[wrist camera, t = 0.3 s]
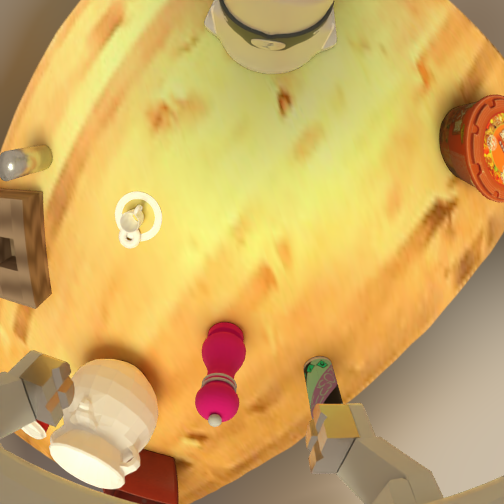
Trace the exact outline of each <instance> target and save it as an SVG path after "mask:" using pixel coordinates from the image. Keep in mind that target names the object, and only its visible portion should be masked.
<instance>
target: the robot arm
mask: <svg viewBox="0 0 504 504" xmlns="http://www.w3.org/2000/svg"><path fill="white" fill-rule="evenodd" d="M333 5H334V0H214V1H213V3H212V6H211V8H210V10H209V12H208V14H207V16H206V19H205V22H204V23H205V27H206V29H207V30H208V31H209V32H211V33H212V34H213V35H215V36H216V37H218V38H219V40H220V41H221V43H222V45H223V47H224V48H225V50H226V52H227V53H228V54H229V55H230V57H231V58H232V59H233V60H235V61H236V62H237V63H239V64H240V65H242V66H243V67H245V68H247V69H250V70H252V71H256V72H260V73H266V74H280V73H286V72H290V71H293V70H295V69H297V68H299V67H301V66H303V65H304V64H306V63H307V62H308V61H309V60H310V59H311V58H312V57H313V56H315V55H316V54H317V53H319V52H322V51H325V50H328V49H330V48H332V47H334V46H335V44H336V42H337V34H336V25H335V16H334V8H333ZM70 373H71V369H70V365H69V364H68V363H67V362H65V361H62V360H59V359H56V358H54V357H51V356H48V355H46V354H42V353H39V352H37V351H34V350H33V351H30V352H29V353H28V354H27V355H26V356H25V357H23V358H22V359H21V360H20V361H19V362H18V363H17V364H16V365H15V366H14V367H13V368H12V369H11V370H10V371H9V372H8V373H7V372H1V373H0V439H1V438H3V437H5V436H7V435H9V434H11V433H13V432H15V431H17V430H19V429H21V428H23V427H24V426H26V425H28V424H30V423H32V422H34V421H36V419H37V420H39V421H42V422H44V423H47V424H49V425H52V426H55V427H56V425H57V424H58V422H59V421H60V420H61V418H62V417H63V415H64V414H63V409H65V408H67V407H69V406H70V405H71V403H72V401H73V398H74V394H75V387H74V383H73V381H72V380H71V378H70V377H69V375H70ZM313 417H314V419H312V420H311V421H310V422H309V424H308V427H307V432H306V446H307V449H308V450H309V451H310V452H311V453H310V456H309V464H310V470H311V473H312V474H326V473H328V474H329V473H337V474H336V475H337V476H338V477H339V478H340V479H341V480H342V481H343V482H344V483H345V484H346V485H347V486H348V487H349V488H350V490H351V491H352V492H353V493H354V494H355V495H356V496H357V497H358V498H359V499H360V500H361V501H362V502H363V503H364V504H504V476H501V477H499V478H497V479H495V480H492V481H490V482H488V483H485V484H482V485H480V486H477V487H475V488H472V489H469V490H467V491H464V492H461V493H458V494H455V495H453V496H449V497H446V498H443V495H442V493H441V491H440V489H439V487H438V485H437V483H436V480H435V478H434V476H433V474H432V472H431V471H430V470H428V469H427V468H425V467H424V466H422V465H421V464H419V463H418V462H416V461H415V460H413V459H412V458H410V457H409V456H407V455H406V454H404V453H403V452H402V451H400V450H399V449H397V448H396V447H394V446H393V445H391V444H390V443H388V442H387V441H386V440H384V439H383V438H381V437H376V435H375V433H374V430H373V428H372V425H371V423H370V421H369V418H368V416H367V413H366V411H365V409H364V406H363V405H362V404H361V403H354V404H316V405H315V407H314V410H313ZM0 504H138V503H135V502H131V501H127V500H124V499H120V498H117V497H114V496H111V495H107V494H104V493H101V492H98V491H95V490H92V489H90V488H87V487H84V486H82V485H79V484H76V483H74V482H71V481H69V480H66V479H64V478H62V477H59V476H57V475H55V474H52V473H50V472H48V471H46V470H44V469H41V468H39V467H37V466H35V465H33V464H31V463H29V462H27V461H25V460H23V459H21V458H20V457H18V456H16V455H14V454H12V453H10V452H9V451H7V450H5V449H3V447H2V446H1V444H0Z"/></svg>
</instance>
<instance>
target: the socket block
mask: <svg viewBox="0 0 504 504" xmlns="http://www.w3.org/2000/svg"><path fill="white" fill-rule="evenodd" d="M51 294H52V292H51V286H50V279H49V272H48V264H47V255H46V244H45V232H44V216H43V192H39V191H26V190H12V189H0V298H3V299H6V300H9V301H12V302H15V303H19V304H22V305H25V306H28V307H32V308H35V309H36V308H37V307H38V306H39V305H40V304H41V303H42V302H43V301H44V300H46V299H47V298H48V297H49V296H50V295H51Z"/></svg>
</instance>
